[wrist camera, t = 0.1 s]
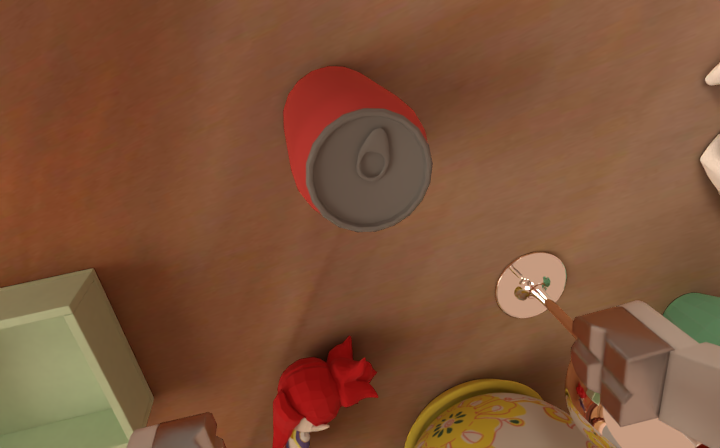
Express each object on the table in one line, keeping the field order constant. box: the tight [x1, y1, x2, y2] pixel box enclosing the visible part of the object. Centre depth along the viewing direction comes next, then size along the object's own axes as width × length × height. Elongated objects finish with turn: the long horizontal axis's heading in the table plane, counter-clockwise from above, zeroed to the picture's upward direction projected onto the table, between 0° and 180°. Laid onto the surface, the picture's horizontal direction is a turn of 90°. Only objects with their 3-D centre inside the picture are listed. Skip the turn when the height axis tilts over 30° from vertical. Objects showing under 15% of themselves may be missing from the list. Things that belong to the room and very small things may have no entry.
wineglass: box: [495, 252, 709, 448], centre depth 32 cm, size 8×8×18 cm
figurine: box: [272, 336, 378, 448], centre depth 38 cm, size 6×8×15 cm
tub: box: [0, 268, 154, 448], centre depth 32 cm, size 12×12×5 cm
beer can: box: [283, 66, 433, 232], centre depth 25 cm, size 7×7×12 cm
